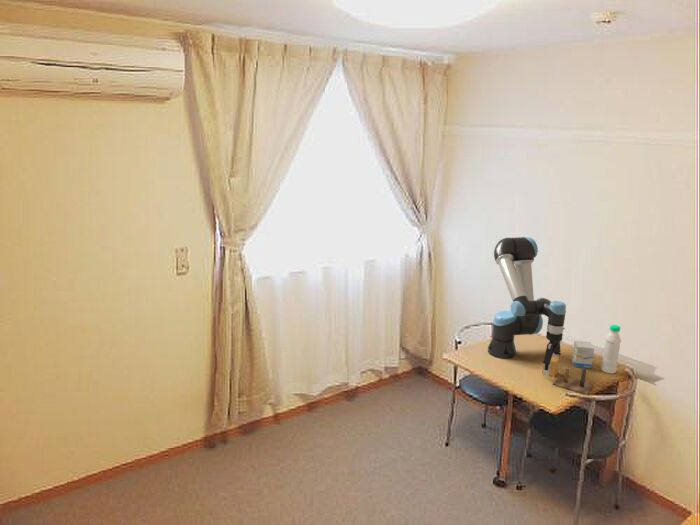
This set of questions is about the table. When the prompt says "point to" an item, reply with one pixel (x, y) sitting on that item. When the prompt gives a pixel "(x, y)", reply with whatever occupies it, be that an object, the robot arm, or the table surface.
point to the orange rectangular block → (553, 366)
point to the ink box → (582, 354)
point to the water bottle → (611, 350)
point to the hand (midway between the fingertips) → (550, 370)
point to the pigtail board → (573, 382)
